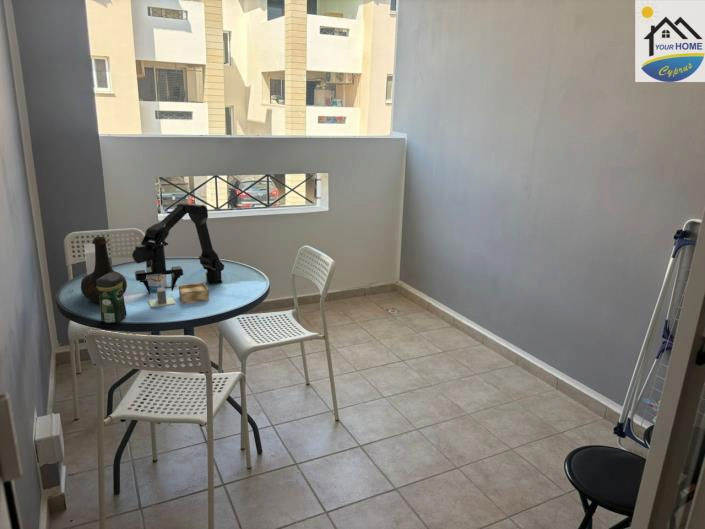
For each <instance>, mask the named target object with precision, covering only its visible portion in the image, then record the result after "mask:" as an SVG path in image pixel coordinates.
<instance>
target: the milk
mask: <svg viewBox="0 0 705 529" xmlns="http://www.w3.org/2000/svg"><path fill="white" fill-rule="evenodd" d="M83 246H84V258H85V266H86V274H87V275H89V274H91V273H93V272H94V269H95V244H92V243H86V244H85V243H84V244H83Z"/></svg>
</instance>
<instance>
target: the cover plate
mask: <svg viewBox="0 0 705 529" xmlns="http://www.w3.org/2000/svg"><path fill="white" fill-rule="evenodd" d="M156 295H157V298H156V299H148V303H149V307H150V308H151V309H152V308H160V307H165V306H166V307H167V306H173V305H177V304H176V301H175V299H174V297H173V296H172V297H171V296H170V297H167V293H166V289H165V288H164V287H162V288H157V292H156Z"/></svg>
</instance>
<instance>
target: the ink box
mask: <svg viewBox="0 0 705 529" xmlns="http://www.w3.org/2000/svg"><path fill="white" fill-rule="evenodd" d="M145 269H146V270H145V272H152V271H151V267H149V268H147V267H146V268H145ZM146 278H147V281H148V285H149V289H150V292H153V293H157V288H162V287H164V289H165V288H166V287H167V286H168V281H167V275H158V276H149V277H146Z"/></svg>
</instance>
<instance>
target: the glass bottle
mask: <svg viewBox="0 0 705 529" xmlns="http://www.w3.org/2000/svg"><path fill="white" fill-rule="evenodd" d="M108 243H109V240H106V237H105V236H95V237H94V238H93V240H92V242H91V244H95V269H94V272H93V273H91V274H89V275H88V274H87V275H86V276H84V277H83V278H82V279H81V281H80V291H81V293H82V295H83V296H84V297H85V298H86V299H87V300H89V301H91V302H92V303H98V304H100V298H99V292H98V289H97V282H96V280H97V279H99V278H100V277H102V276H104V275H106V274H108V273H119V274H120V275H121V277H122V290H123V295H124V294H125V293H126V291H127V287H128V283H127V279H126V277H125V276H124V275H123V274H122V273H120V272H117V271H115V270H114V269H113V267H112V264H111V262H110V261H111V260H110V257H109V253H108V247H107V244H108Z"/></svg>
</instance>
